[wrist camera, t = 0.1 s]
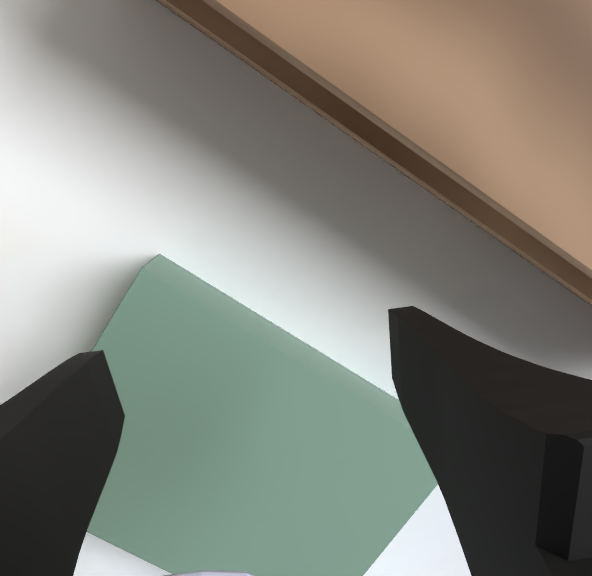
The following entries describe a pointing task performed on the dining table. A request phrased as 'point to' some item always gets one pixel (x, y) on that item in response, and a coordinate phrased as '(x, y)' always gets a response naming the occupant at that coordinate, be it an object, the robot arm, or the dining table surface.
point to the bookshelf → (446, 101)
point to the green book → (246, 441)
